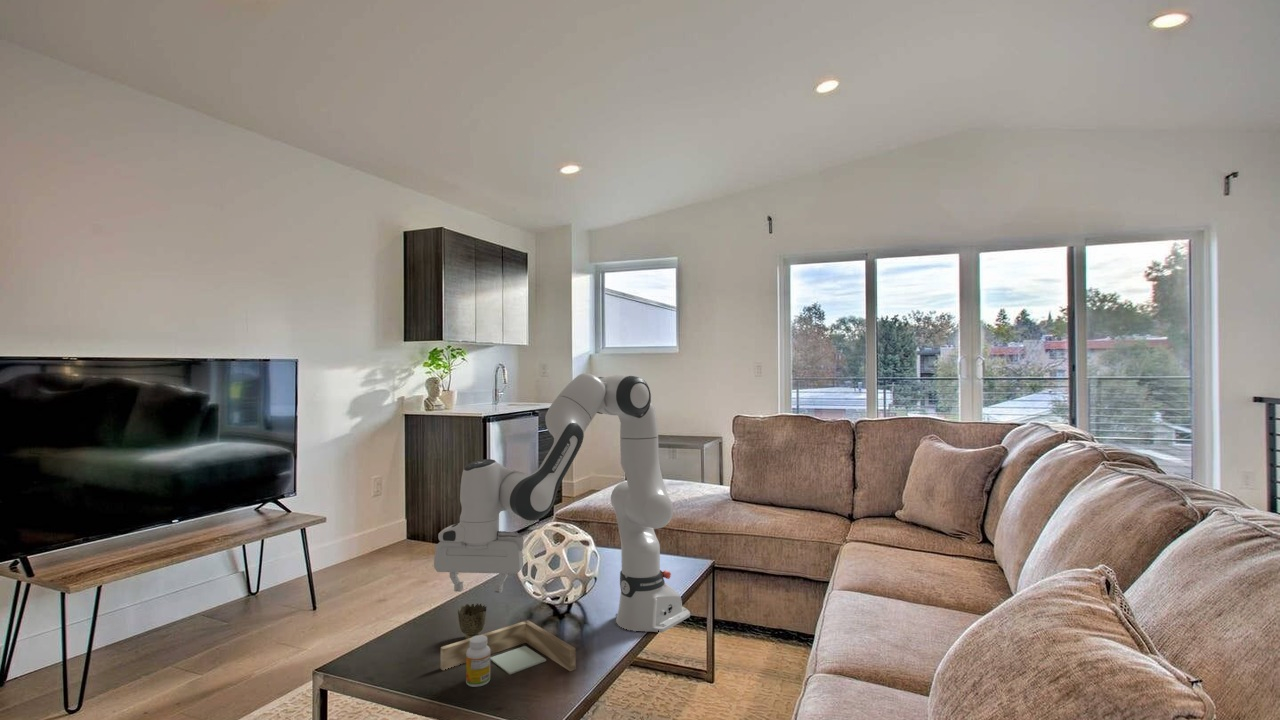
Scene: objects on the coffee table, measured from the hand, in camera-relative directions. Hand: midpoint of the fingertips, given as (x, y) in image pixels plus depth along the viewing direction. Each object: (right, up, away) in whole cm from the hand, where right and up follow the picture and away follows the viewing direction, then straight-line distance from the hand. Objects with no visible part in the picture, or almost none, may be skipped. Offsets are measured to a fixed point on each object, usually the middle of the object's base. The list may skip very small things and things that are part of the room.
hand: (478, 591), depth 136 cm
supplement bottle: (0, -21, -1) cm, 21 cm away
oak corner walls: (+6, -21, +5) cm, 22 cm away
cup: (-8, -21, +22) cm, 32 cm away
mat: (+7, -21, +10) cm, 24 cm away
